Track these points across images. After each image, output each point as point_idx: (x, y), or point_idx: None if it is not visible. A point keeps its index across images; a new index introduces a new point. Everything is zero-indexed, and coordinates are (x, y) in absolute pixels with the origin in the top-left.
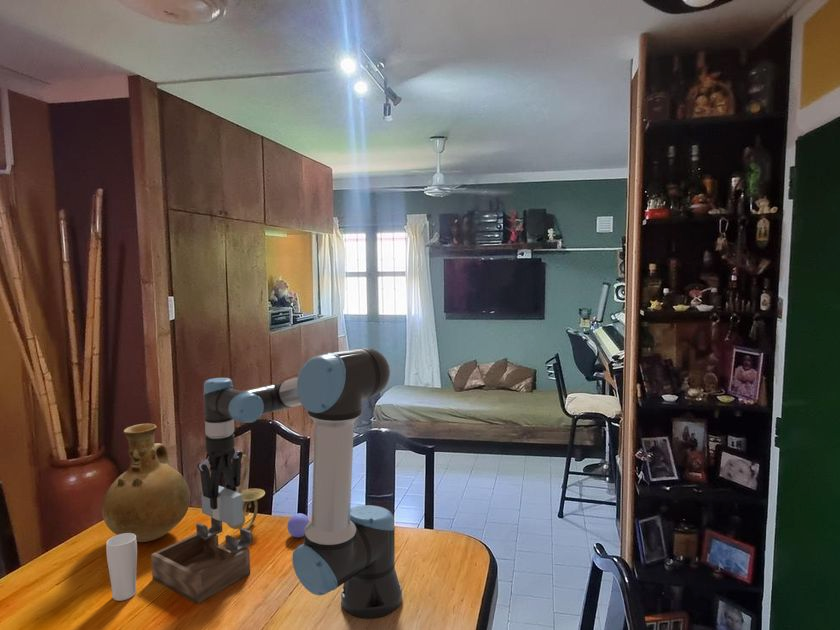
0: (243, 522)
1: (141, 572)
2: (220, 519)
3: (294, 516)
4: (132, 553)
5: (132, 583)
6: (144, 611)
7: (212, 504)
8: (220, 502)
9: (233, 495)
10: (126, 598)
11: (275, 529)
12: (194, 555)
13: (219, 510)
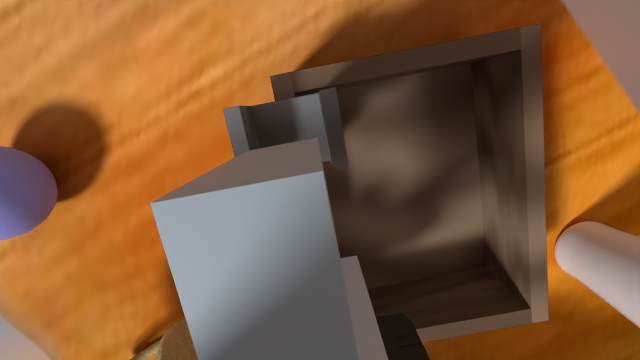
0: (177, 325)
1: None
2: (346, 259)
3: None
4: None
5: (608, 237)
6: (587, 132)
7: (422, 354)
8: (358, 338)
9: (273, 257)
10: (592, 221)
11: (87, 280)
12: (370, 291)
13: (361, 292)
